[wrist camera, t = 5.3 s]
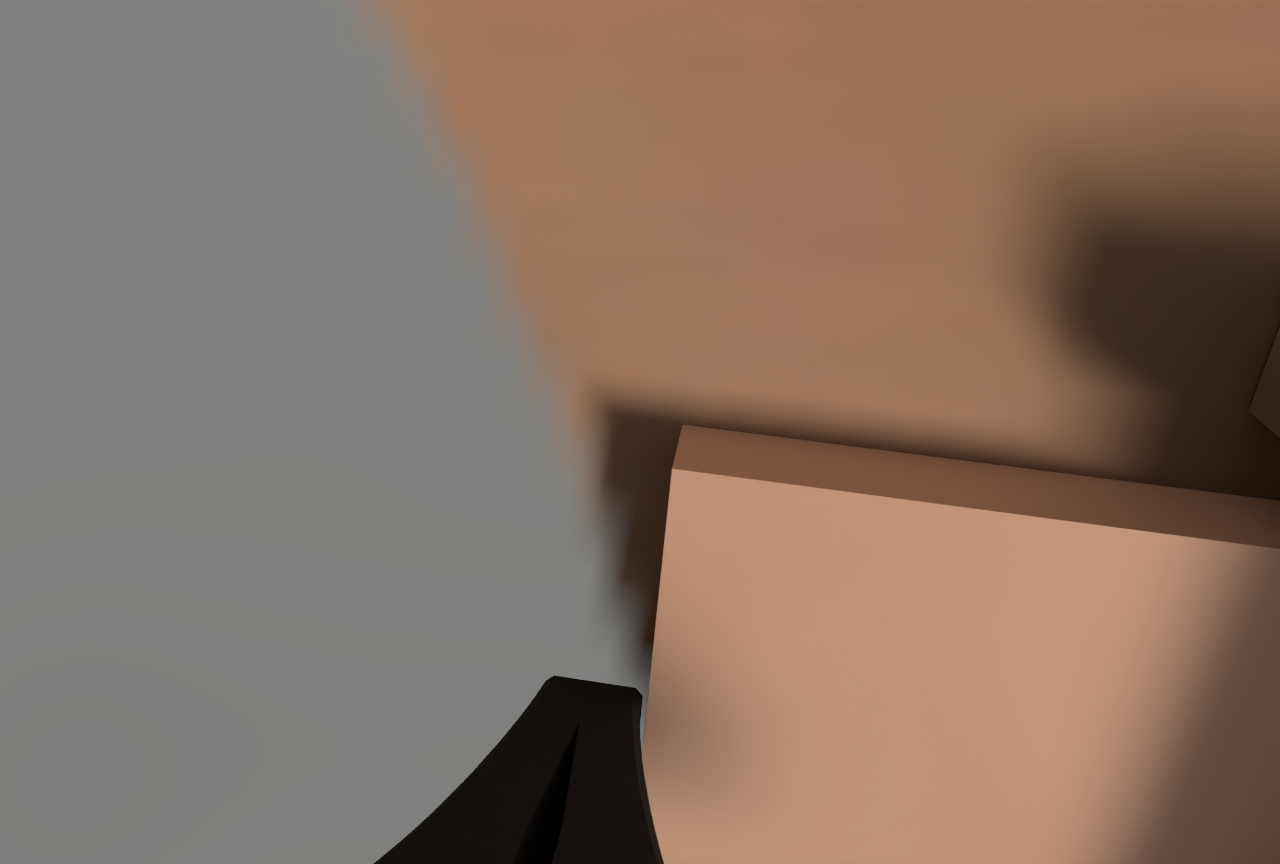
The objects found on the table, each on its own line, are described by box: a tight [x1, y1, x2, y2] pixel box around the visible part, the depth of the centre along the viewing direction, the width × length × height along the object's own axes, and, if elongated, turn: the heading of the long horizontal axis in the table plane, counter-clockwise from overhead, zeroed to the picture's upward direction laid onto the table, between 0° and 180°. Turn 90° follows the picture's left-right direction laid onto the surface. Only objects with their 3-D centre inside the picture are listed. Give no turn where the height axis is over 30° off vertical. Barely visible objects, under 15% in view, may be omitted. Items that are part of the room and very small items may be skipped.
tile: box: [642, 425, 1280, 864], centre depth 13 cm, size 9×12×2 cm
